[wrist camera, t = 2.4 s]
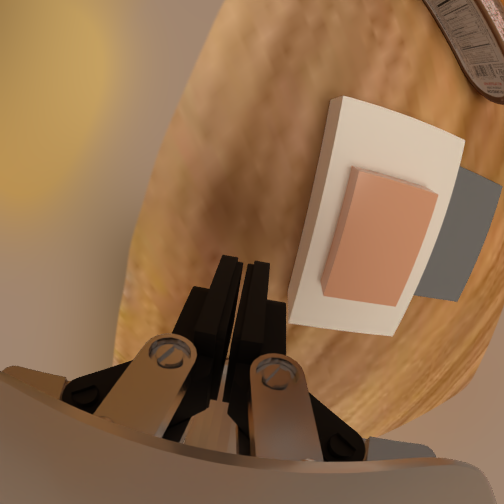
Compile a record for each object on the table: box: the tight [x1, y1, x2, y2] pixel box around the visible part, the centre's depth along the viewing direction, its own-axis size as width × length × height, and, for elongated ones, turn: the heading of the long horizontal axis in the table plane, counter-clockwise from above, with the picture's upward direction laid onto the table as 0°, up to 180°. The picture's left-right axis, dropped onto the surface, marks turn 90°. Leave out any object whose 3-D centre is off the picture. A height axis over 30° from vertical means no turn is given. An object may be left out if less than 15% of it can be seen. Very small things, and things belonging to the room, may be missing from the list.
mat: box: [414, 166, 502, 302], centre depth 24 cm, size 14×10×1 cm
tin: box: [423, 0, 504, 105], centre depth 12 cm, size 15×3×8 cm, turn 31°
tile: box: [320, 166, 438, 307], centre depth 19 cm, size 9×6×2 cm, turn 171°
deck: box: [288, 96, 465, 336], centre depth 22 cm, size 18×10×5 cm, turn 171°
